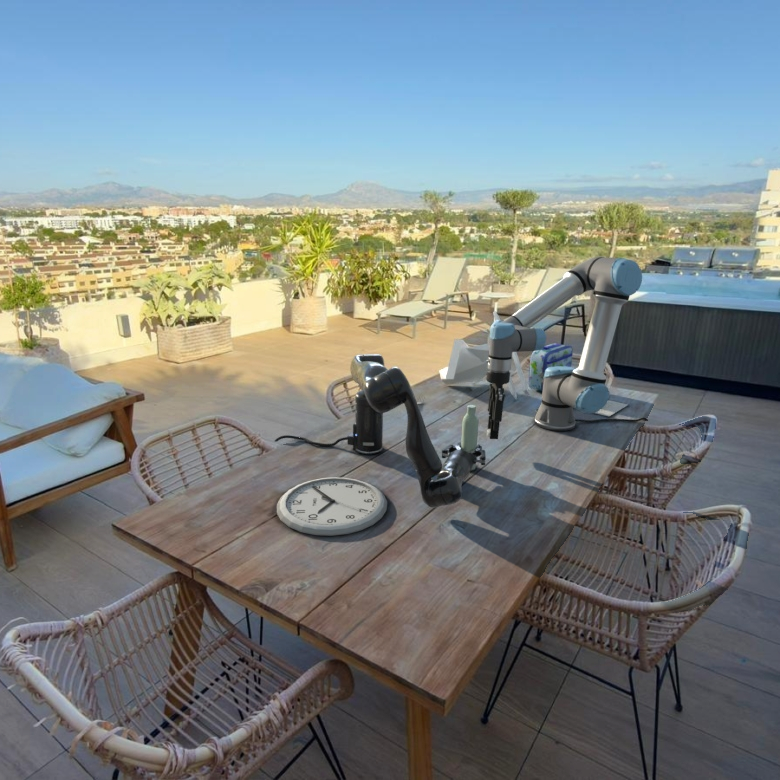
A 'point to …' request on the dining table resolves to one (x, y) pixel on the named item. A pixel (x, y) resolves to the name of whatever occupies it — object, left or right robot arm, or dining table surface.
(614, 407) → the invitation card
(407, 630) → the dining table surface
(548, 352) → the lunch box
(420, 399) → the fork
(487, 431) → the cap
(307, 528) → the wall clock
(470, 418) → the bottle
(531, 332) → the right robot arm
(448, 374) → the white plastic object
